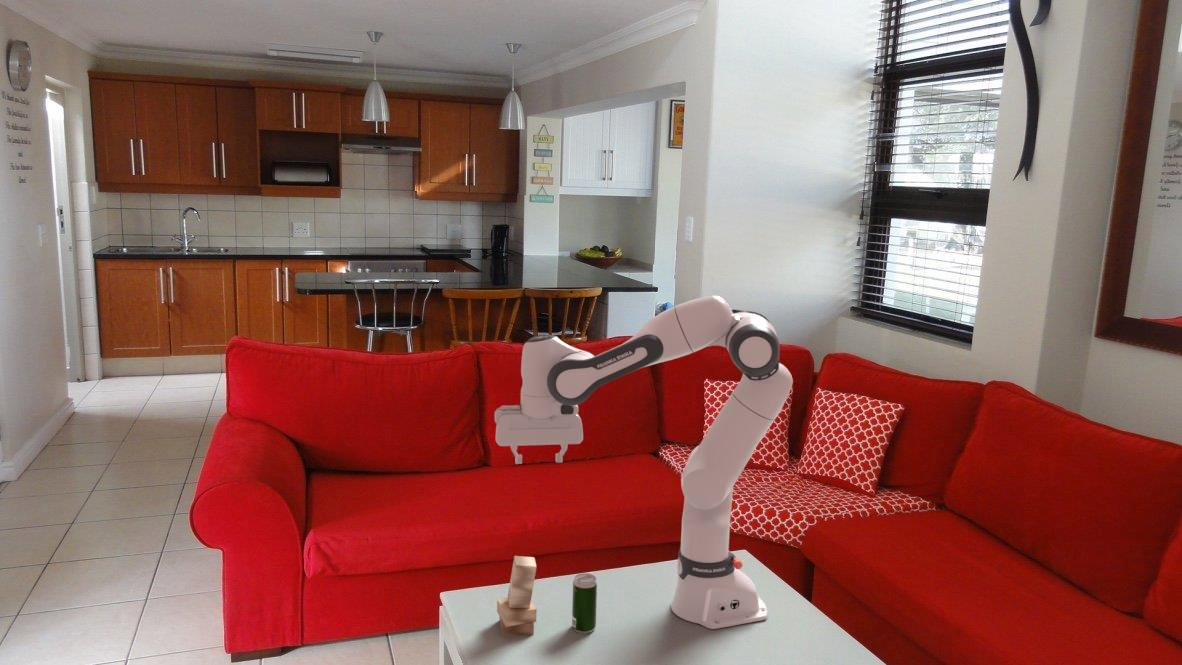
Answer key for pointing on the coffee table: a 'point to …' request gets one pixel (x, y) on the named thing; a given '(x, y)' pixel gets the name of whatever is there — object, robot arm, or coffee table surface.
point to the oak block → (515, 613)
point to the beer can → (584, 603)
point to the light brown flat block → (516, 629)
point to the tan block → (522, 582)
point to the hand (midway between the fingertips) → (538, 462)
